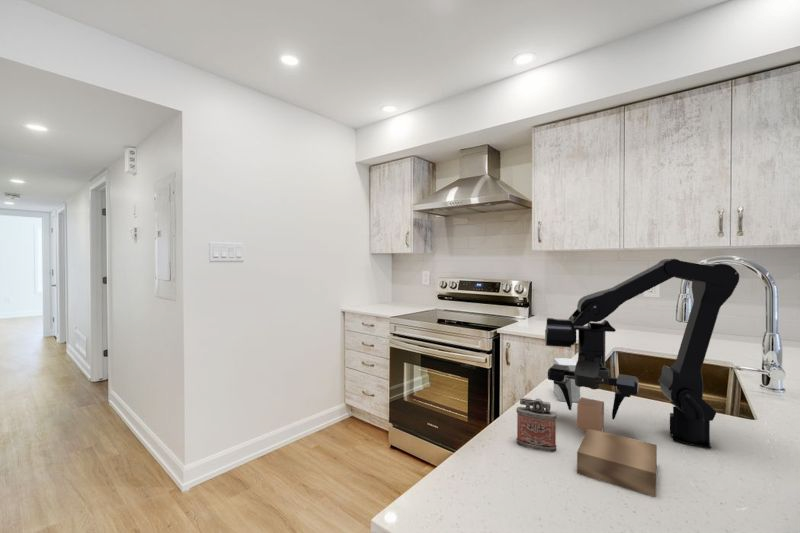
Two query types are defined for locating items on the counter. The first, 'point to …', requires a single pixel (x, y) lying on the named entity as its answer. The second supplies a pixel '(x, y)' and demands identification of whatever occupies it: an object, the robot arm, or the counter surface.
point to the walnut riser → (618, 461)
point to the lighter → (536, 425)
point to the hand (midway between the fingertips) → (591, 414)
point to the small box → (574, 389)
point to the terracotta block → (590, 414)
